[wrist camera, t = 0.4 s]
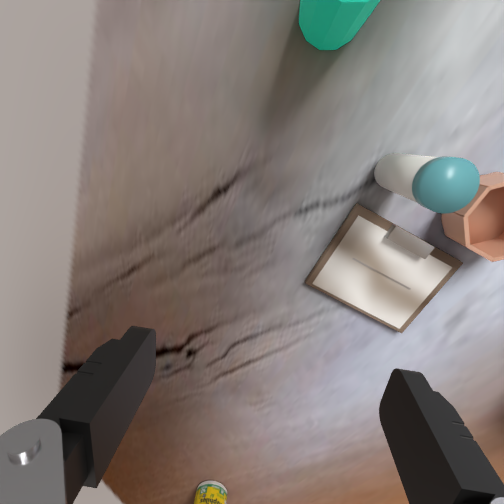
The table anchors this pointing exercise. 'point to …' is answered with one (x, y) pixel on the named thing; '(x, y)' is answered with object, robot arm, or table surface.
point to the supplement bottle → (211, 493)
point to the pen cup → (480, 219)
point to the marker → (429, 180)
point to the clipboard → (381, 269)
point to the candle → (333, 21)
